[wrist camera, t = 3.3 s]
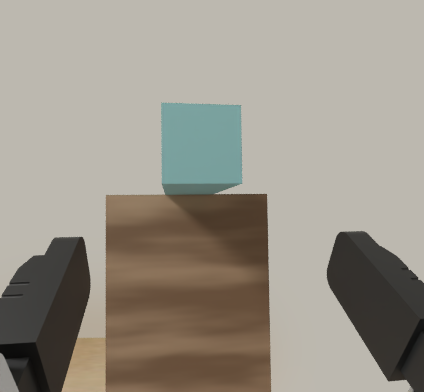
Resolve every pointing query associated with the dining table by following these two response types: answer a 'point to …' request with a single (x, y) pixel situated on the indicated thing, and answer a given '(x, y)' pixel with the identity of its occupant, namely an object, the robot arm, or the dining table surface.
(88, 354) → the dining table surface
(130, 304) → the stand
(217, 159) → the bar
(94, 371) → the dining table surface
